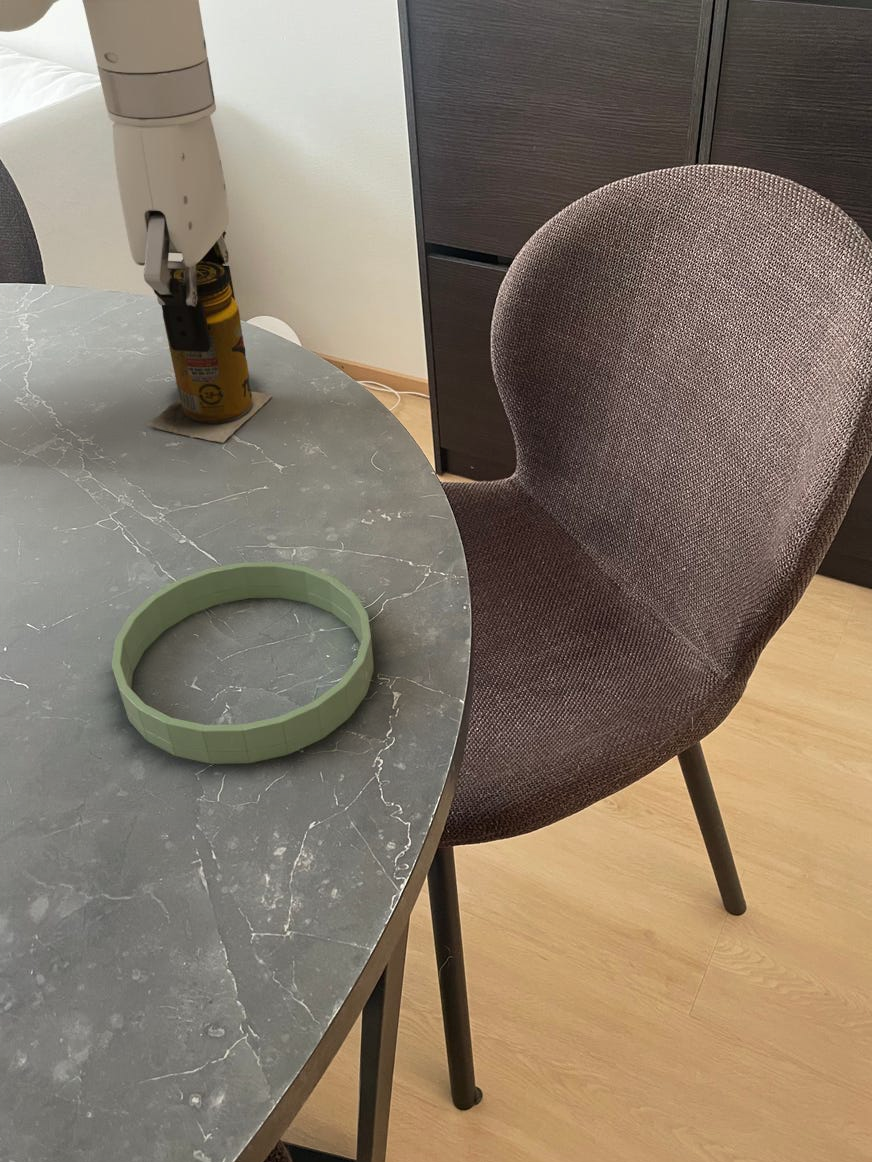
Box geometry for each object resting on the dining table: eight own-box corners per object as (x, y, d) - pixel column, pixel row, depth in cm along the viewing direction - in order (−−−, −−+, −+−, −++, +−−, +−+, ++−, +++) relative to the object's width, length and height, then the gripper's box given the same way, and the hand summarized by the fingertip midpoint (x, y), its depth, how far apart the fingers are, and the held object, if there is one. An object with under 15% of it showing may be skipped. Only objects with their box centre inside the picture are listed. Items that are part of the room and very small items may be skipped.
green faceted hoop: (87, 767, 59) (69, 718, 57) (176, 599, 71) (165, 552, 68) (345, 792, 58) (338, 743, 55) (394, 617, 69) (391, 570, 67)
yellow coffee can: (272, 396, 92) (253, 262, 84) (223, 444, 86) (197, 304, 78) (200, 382, 93) (175, 250, 85) (147, 428, 88) (114, 290, 79)
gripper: (150, 58, 80) (194, 285, 92) (56, 124, 67) (122, 378, 79) (245, 60, 79) (277, 289, 91) (168, 127, 67) (217, 383, 79)
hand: (204, 328), depth 85 cm, fingers closed on yellow coffee can, 6 cm apart
